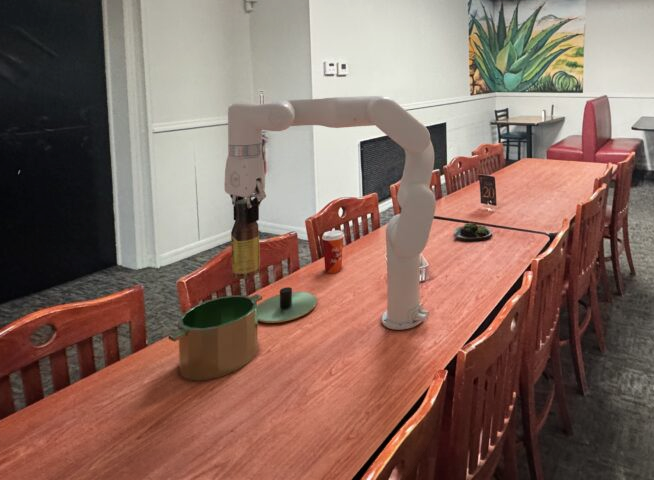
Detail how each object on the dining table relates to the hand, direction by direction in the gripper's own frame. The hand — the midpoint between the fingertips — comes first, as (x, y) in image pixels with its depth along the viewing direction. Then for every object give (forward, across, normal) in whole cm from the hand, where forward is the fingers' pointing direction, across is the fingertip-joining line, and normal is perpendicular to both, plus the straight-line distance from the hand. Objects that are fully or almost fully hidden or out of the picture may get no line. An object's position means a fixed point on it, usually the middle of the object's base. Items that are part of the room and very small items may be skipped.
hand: (246, 219), depth 116 cm
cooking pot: (+36, -4, -5) cm, 36 cm away
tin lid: (+35, -10, +19) cm, 41 cm away
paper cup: (+36, -19, +46) cm, 61 cm away
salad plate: (+35, +9, +101) cm, 108 cm away
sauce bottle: (+15, 0, 0) cm, 15 cm away
